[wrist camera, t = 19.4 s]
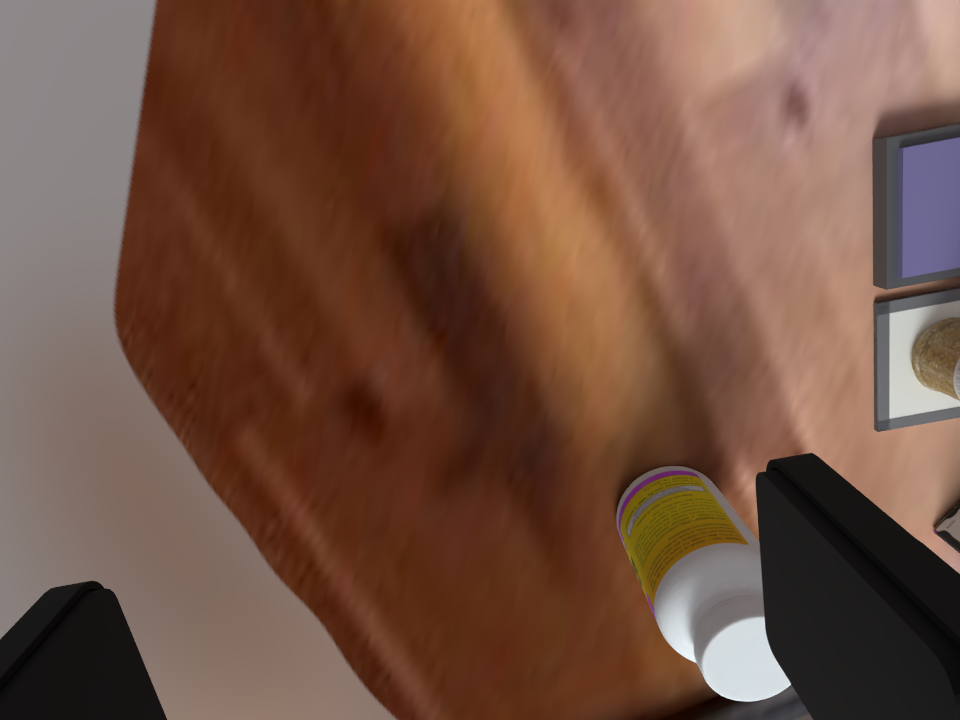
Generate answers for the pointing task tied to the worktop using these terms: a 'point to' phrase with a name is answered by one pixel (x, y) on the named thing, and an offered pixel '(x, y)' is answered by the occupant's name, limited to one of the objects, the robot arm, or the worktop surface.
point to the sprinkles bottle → (939, 358)
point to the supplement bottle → (701, 579)
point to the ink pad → (916, 206)
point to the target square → (908, 360)
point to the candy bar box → (950, 528)
